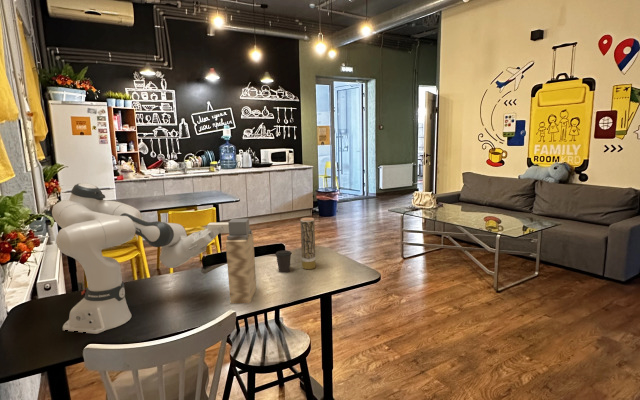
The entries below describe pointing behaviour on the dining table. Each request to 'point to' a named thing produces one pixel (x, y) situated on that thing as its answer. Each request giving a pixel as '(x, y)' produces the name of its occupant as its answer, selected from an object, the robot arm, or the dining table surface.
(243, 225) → the hammer
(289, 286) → the dining table surface
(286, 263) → the coffee cup
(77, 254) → the robot arm
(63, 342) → the dining table surface
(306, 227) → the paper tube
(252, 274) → the beige zigzag patterned box
